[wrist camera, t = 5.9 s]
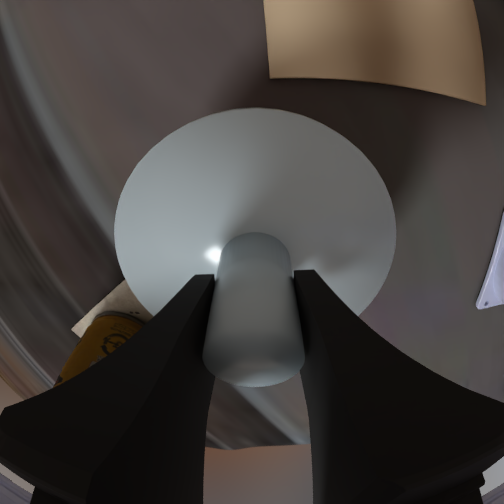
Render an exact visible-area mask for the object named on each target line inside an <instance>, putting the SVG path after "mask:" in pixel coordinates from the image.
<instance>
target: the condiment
mask: <svg viewBox="0 0 504 504" xmlns="http://www.w3.org/2000/svg"><path fill="white" fill-rule="evenodd" d="M130 311H131V312H133V314H131V313H130ZM135 312H139V313H140V314H136V313H135ZM153 317H154V316H153V315H152V314H151V313H150V312H149V311H148V310H147V309H146V308H145V307H144V306H143V305H142V304H141V303H140V301H139V300H138V299H137V297H136V296H135V294H134V293H133V292H132V290H131V289H130V287H129V285H128V283H127V281H126V279H125V280H124V281H123V282H122V283H121V284H119V285H118V286H117V287H116V288H115V289H114V290H113V291H112V292H111V293H110V294H108V295H107V296H106V297H105V298H104V299H103V300H102V301H101V302H100V303H98V304H97V305H96V306H95V307H94V308H93V309H92V310H91V311H90V312H89V313H88V314H87V315H85V316H84V317H83V318H82V319H81V320H80V321H79V322H78V323H77V324H76V325H75V326H74V327H73V328H72V329H71V330H72V331H73V332H75V333H76V334H77V335H78V336H79V337H80V338H81V339H80V340H79V342H78V344H77V345H76V347H75V349H74V351H73V352H72V354H71V355H70V357H69V359H68V361H67V362H66V363H65V366H64V367H63V369H62V372H61V374H60V375H59V376H58V378H57V381H56V383H55V385H54V387H56V386H58V385H60V384H62V383H64V382H65V381H67V380H69V379H71V378H73V377H75V376H76V375H78V374H80V373H81V372H83V371H84V370H86V369H87V368H89V367H90V366H92V365H94V364H95V363H97V362H98V361H100V360H101V359H103V358H104V357H106V356H107V355H109V354H110V353H111V352H113V351H114V350H115V349H117V348H118V347H119V346H121V345H122V344H123V343H124V342H126V341H127V340H128V339H129V338H131V337H132V336H133V335H134V334H135V333H136V332H138V331H139V330H140V329H141V328H142V327H143V326H144V325H145V324H146V323H147V322H148V321H149V320H150V319H152V318H153ZM54 387H53V388H54Z"/></svg>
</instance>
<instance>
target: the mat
mask: <svg viewBox="0 0 504 504" xmlns="http://www.w3.org/2000/svg"><path fill="white" fill-rule="evenodd" d="M263 1H264V12H265V23H266V35H267V47H268V60H269V74H270V79H275V78H316V79H338V80H351V81H362V82H372V83H380V84H388V85H395V86H401V87H407V88H413V89H418V90H423V91H428V92H433V93H437V94H442V95H446V96H450V97H454V98H458V99H462V100H465V101H469V102H472V103H476V104H479V105H483V106H486V89H485V72H484V61H483V52H482V44H481V38H480V31H479V26H478V20H477V15H476V11H475V6H474V2H473V0H263Z"/></svg>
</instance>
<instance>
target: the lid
mask: <svg viewBox="0 0 504 504" xmlns="http://www.w3.org/2000/svg"><path fill="white" fill-rule="evenodd" d="M114 234H115V247H116V252H117V257H118V261H119V264H120V267H121V270H122V273H123V275H124V277H125V279H126V281H127V283H128V285H129V287H130V289H131V290H132V292H133V293H134V294H135V296H136V297H137V299H138V300H139V301H140V303H141V304H142V305H143V306H144V307H145V308H146V309H147V310H148V311H149V312H150V313H151V314H152V315H153V316H155V315H156V314H157V313H158V312H159V311H160V310H161V309H162V308H163V307H164V306H165V305H166V304H167V303H168V302H169V301H170V300H171V299H172V298H173V297H174V296H175V295H176V294H177V293H178V292H179V291H180V289H181V288H182V287H183V286H184V285H185V284H186V283H187V282H188V281H189V280H190V279H191V278H192V277H193V276H194V275H197V274H214V277H215V285H214V291H213V296H212V302H211V307H210V313H209V319H208V325H207V331H206V336H205V342H204V348H203V355H202V358H203V362H204V365H205V366H206V368H207V369H208V370H209V371H210V372H211V373H212V374H213V375H214V376H216V377H217V378H219V379H221V380H223V381H225V382H228V383H231V384H235V385H239V386H246V387H262V386H269V385H274V384H278V383H281V382H283V381H286V380H288V379H289V378H291V377H293V376H294V375H295V374H296V373H298V372H299V370H300V369H301V368H302V366H303V364H304V361H305V353H304V345H303V338H302V331H301V324H300V317H299V310H298V303H297V297H296V290H295V284H294V270H310V269H314V270H315V271H316V272H317V273H318V274H319V275H320V277H321V278H322V279H323V280H324V281H325V282H326V284H327V285H328V286H329V287H330V288H331V289H332V290H333V291H334V292H335V294H336V295H337V296H338V297H339V298H340V299H341V300H342V301H343V302H344V303H345V304H346V305H347V306H348V307H349V308H350V309H351V310H352V311H353V312H354V313H355V314H356V315H357V316H359V315H360V314H361V313H362V312H363V311H364V310H365V309H366V307H367V306H368V305H369V304H370V303H371V302H372V300H373V299H374V298H375V296H376V295H377V293H378V292H379V290H380V289H381V287H382V285H383V283H384V281H385V280H386V277H387V275H388V272H389V270H390V267H391V264H392V260H393V256H394V252H395V244H396V221H395V214H394V209H393V205H392V201H391V198H390V196H389V193H388V191H387V188H386V186H385V183H384V182H383V180H382V178H381V177H380V175H379V173H378V172H377V170H376V168H375V167H374V166H373V165H372V163H371V162H370V161H369V160H368V159H367V157H366V156H365V155H364V154H363V153H362V152H361V151H360V150H359V149H358V148H357V147H356V146H354V145H353V144H352V143H351V142H350V141H349V140H347V139H346V138H345V137H343V136H342V135H340V134H339V133H337V132H336V131H334V130H332V129H331V128H329V127H327V126H326V125H324V124H322V123H321V122H318V121H316V120H314V119H311V118H309V117H306V116H304V115H301V114H298V113H294V112H290V111H285V110H281V109H273V108H262V107H250V108H235V109H230V110H225V111H220V112H216V113H212V114H209V115H207V116H204V117H201V118H199V119H196V120H194V121H192V122H190V123H188V124H186V125H185V126H183V127H181V128H179V129H178V130H176V131H174V132H173V133H171V134H169V135H168V136H167V137H165V138H164V139H163V140H162V141H160V142H159V143H158V144H157V145H155V146H154V147H153V148H152V149H151V150H150V151H149V152H148V153H147V154H146V155H145V156H144V157H143V159H142V160H141V161H140V162H139V163H138V164H137V166H136V167H135V169H134V170H133V172H132V174H131V175H130V177H129V178H128V180H127V182H126V184H125V187H124V189H123V191H122V193H121V196H120V199H119V203H118V207H117V211H116V217H115V227H114Z"/></svg>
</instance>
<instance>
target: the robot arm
mask: <svg viewBox="0 0 504 504" xmlns="http://www.w3.org/2000/svg"><path fill="white" fill-rule="evenodd" d="M294 284H295V290H296V297H297V303H298V310H299V317H300V324H301V331H302V338H303V345H304V353H305V361H304V364H303V366H302V368H301V369H300V374H301V379H302V384H303V389H304V394H305V399H306V404H307V409H308V416H309V425H310V438H311V453H312V473H313V504H504V483H503V484H501V485H500V486H498V487H497V488H495V489H493V490H492V491H490V492H488V493H487V494H485V495H483V496H482V497H481V493H480V489H479V488H480V487H481V486H483V485H484V484H485V480H484V477H483V474H482V472H483V471H485V470H486V469H488V468H489V467H490V466H492V465H493V464H494V463H496V462H497V461H498V460H500V459H501V458H502V457H503V456H504V403H503V402H500V401H497V400H495V399H492V398H489V397H487V396H484V395H481V394H479V393H476V392H474V391H471V390H469V389H467V388H464V387H462V386H460V385H458V384H456V383H454V382H452V381H450V380H448V379H446V378H444V377H442V376H440V375H439V374H437V373H435V372H433V371H431V370H430V369H428V368H426V367H425V366H423V365H421V364H420V363H418V362H417V361H415V360H413V359H412V358H410V357H409V356H407V355H406V354H404V353H403V352H401V351H400V350H398V349H397V348H396V347H394V346H393V345H392V344H390V343H389V342H388V341H386V340H385V339H384V338H382V337H381V336H380V335H379V334H377V333H376V332H375V331H374V330H372V329H371V328H370V327H369V326H368V325H367V324H366V323H365V322H363V321H362V320H361V319H360V318H359V317H358V316H357V315H356V314H355V313H354V312H353V311H352V310H351V309H350V308H349V307H348V306H347V305H346V304H345V303H344V302H343V301H342V300H341V299H340V298H339V297H338V296H337V295H336V294H335V292H334V291H333V290H332V289H331V288H330V287H329V286H328V285H327V284H326V282H325V281H324V280H323V279H322V278H321V277H320V275H319V274H318V273H317V272H316V271H315V270H314V269H310V270H294ZM214 285H215V277H214V274H197V275H194V276H193V277H192V278H191V279H190V280H189V281H188V282H187V283H186V284H185V285H184V286H183V287H182V288H181V289H180V291H179V292H178V293H177V294H176V295H175V296H174V297H173V298H172V299H171V300H170V301H169V302H168V303H167V304H166V305H165V306H164V307H163V308H162V309H161V310H160V311H159V312H158V313H157V314H156V315H155V316H154V317H153V318H152V319H150V320H149V321H148V322H147V323H146V324H145V325H144V326H143V327H142V328H141V329H140V330H139V331H138V332H136V333H135V334H134V335H133V336H132V337H131V338H129V339H128V340H127V341H126V342H124V343H123V344H122V345H121V346H119V347H118V348H117V349H115V350H114V351H113V352H111V353H110V354H109V355H107V356H106V357H104V358H103V359H101V360H100V361H98V362H97V363H95V364H94V365H92V366H90V367H89V368H87V369H86V370H84V371H83V372H81V373H80V374H78V375H76V376H75V377H73V378H71V379H69V380H67V381H65V382H64V383H62V384H60V385H58V386H56V387H54V388H52V389H50V390H48V391H46V392H43V393H41V394H39V395H37V396H34V397H32V398H29V399H27V400H24V401H22V402H19V403H16V404H14V405H11V406H8V407H5V408H4V410H3V411H2V413H1V415H0V463H1V464H2V465H4V466H5V467H7V468H8V469H9V470H11V471H12V472H13V473H15V474H16V475H18V476H19V477H21V478H22V479H24V480H25V481H27V482H28V483H30V484H32V485H33V486H35V488H34V491H33V494H31V493H29V492H28V491H26V490H24V489H23V488H21V487H19V486H18V485H16V484H15V483H13V482H12V481H11V480H10V479H8V478H7V477H5V476H4V475H2V474H1V473H0V504H203V476H204V454H205V453H204V452H205V439H206V426H207V417H208V410H209V405H210V400H211V395H212V390H213V385H214V380H215V376H214V375H213V374H212V373H211V372H210V371H209V370H208V369H207V368H206V366H205V365H204V362H203V358H202V355H203V348H204V342H205V336H206V331H207V325H208V319H209V313H210V307H211V302H212V296H213V291H214ZM500 304H504V212H503V216H502V220H501V225H500V229H499V233H498V237H497V241H496V244H495V248H494V252H493V255H492V258H491V262H490V265H489V268H488V271H487V274H486V277H485V280H484V283H483V286H482V288H481V291H480V294H479V296H478V299H477V302H476V307H477V308H478V309H483V308H488V307H492V306H496V305H500Z"/></svg>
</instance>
